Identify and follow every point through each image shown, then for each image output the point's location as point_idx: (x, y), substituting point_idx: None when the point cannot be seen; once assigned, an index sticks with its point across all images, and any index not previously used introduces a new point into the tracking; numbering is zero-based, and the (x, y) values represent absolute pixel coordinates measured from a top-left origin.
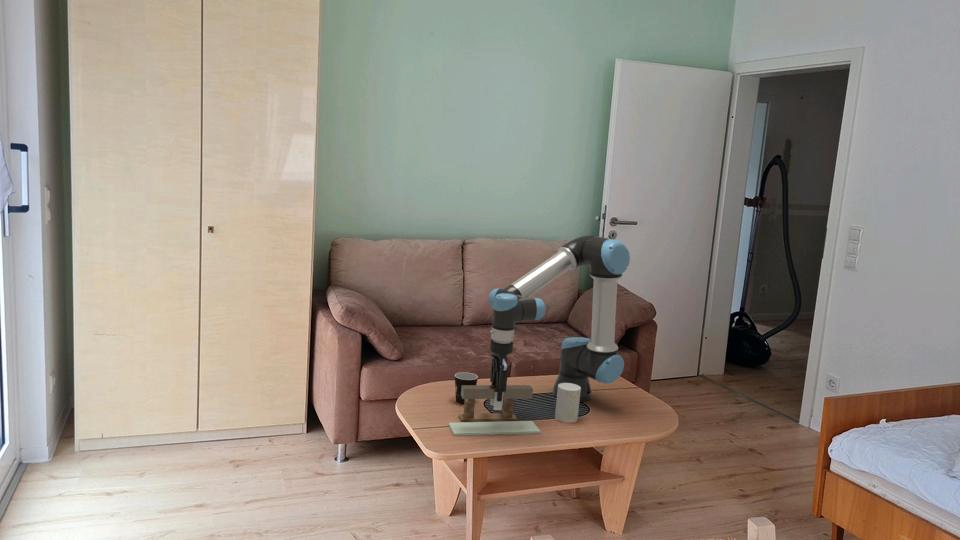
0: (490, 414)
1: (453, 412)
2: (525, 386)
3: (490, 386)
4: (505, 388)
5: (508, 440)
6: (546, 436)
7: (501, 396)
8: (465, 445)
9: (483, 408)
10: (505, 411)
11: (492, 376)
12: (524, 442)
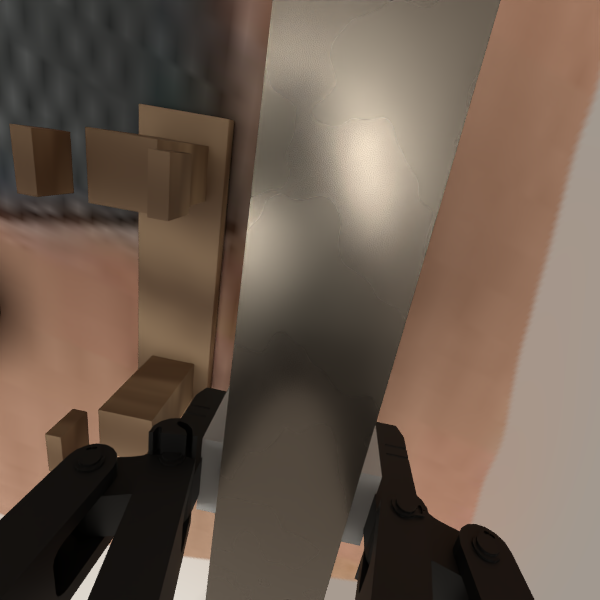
0: (154, 260)
1: (95, 396)
2: (337, 97)
3: (250, 569)
4: (525, 597)
5: (471, 299)
6: (519, 23)
7: (407, 472)
8: (442, 489)
9: (40, 238)
10: (190, 199)
11: (70, 587)
12: (533, 226)
